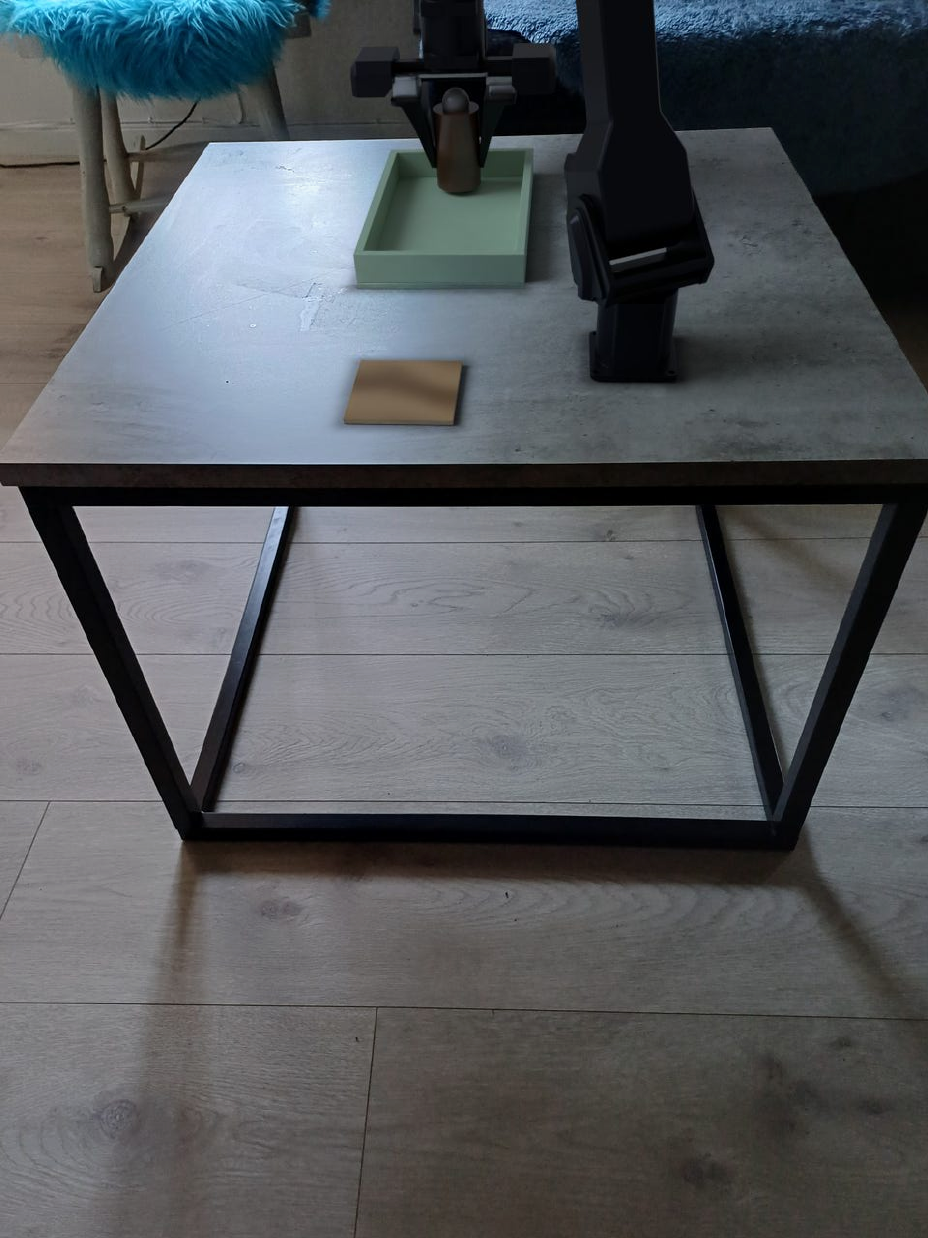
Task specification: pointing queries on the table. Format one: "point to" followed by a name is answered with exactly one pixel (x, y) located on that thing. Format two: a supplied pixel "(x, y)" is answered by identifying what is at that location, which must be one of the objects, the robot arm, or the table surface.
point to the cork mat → (404, 392)
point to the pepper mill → (457, 142)
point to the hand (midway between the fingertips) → (458, 166)
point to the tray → (447, 225)
